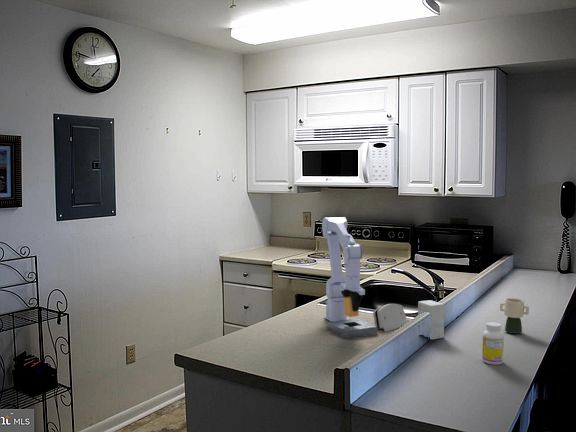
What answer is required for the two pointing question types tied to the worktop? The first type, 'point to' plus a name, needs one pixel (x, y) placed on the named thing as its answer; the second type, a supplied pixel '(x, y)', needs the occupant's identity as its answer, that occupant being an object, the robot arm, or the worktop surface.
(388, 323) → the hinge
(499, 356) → the supplement bottle
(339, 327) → the grey square-hole board
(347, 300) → the block
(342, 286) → the robot arm
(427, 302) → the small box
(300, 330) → the worktop surface
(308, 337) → the worktop surface
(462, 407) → the worktop surface
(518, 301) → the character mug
